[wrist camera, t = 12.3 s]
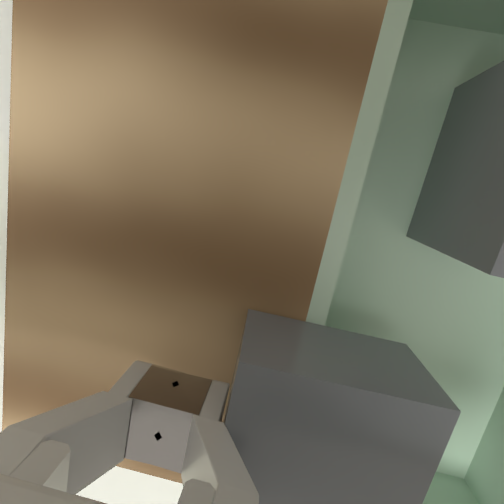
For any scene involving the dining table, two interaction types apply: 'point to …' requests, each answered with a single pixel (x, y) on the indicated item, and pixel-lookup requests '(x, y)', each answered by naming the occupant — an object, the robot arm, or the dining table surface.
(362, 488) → the tile
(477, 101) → the tile
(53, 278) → the board
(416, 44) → the tray
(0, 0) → the dining table surface
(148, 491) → the dining table surface
